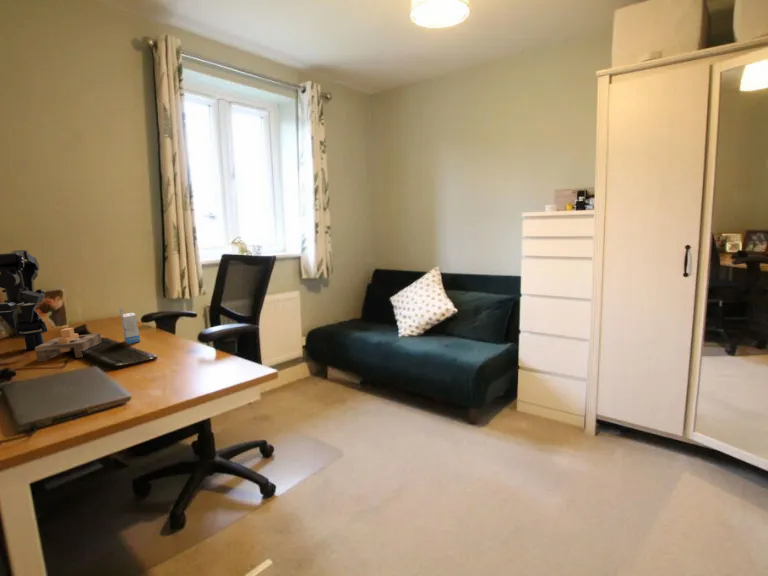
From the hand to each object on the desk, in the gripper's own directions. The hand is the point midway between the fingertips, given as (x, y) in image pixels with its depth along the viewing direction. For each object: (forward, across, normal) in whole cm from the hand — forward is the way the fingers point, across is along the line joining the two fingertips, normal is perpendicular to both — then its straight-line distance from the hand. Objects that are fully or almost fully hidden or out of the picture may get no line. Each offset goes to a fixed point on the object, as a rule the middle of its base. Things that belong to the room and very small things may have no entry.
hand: (22, 325), depth 163 cm
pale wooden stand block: (+10, -3, -17) cm, 20 cm away
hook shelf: (+12, -3, -17) cm, 21 cm away
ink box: (+13, +8, -35) cm, 38 cm away
